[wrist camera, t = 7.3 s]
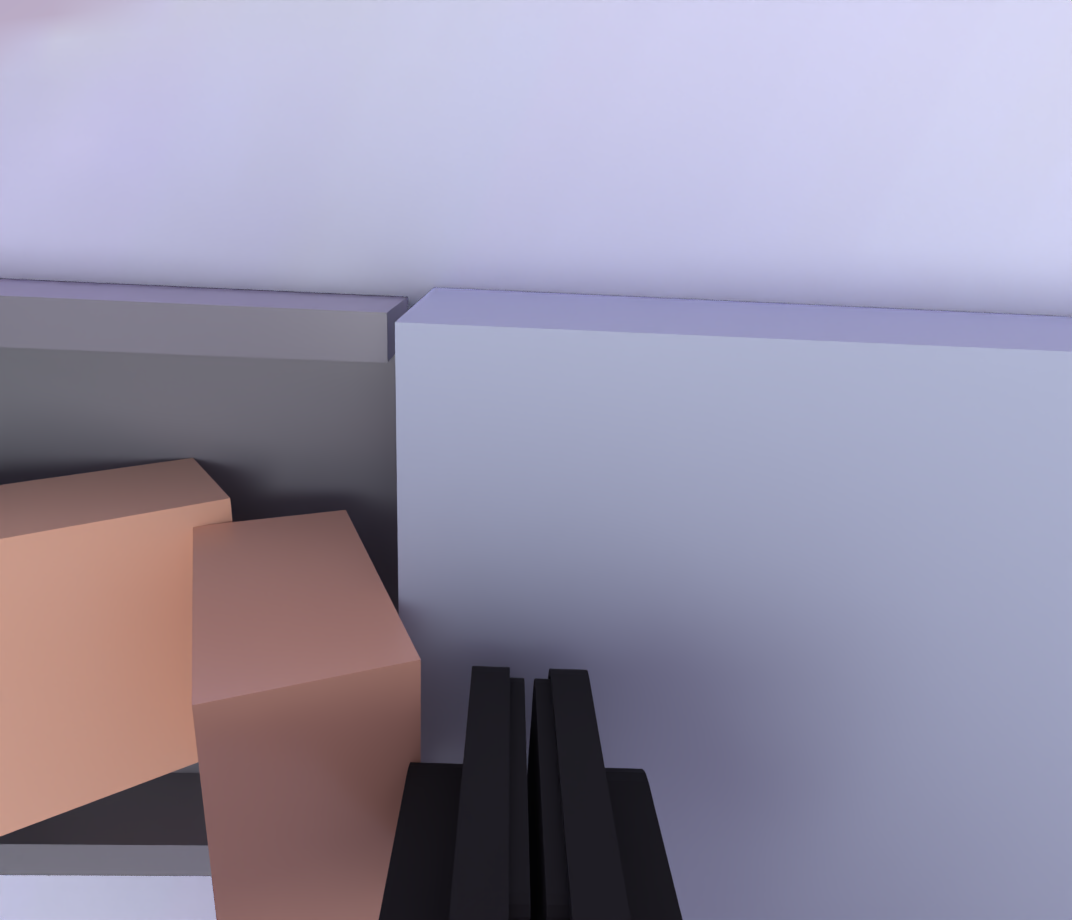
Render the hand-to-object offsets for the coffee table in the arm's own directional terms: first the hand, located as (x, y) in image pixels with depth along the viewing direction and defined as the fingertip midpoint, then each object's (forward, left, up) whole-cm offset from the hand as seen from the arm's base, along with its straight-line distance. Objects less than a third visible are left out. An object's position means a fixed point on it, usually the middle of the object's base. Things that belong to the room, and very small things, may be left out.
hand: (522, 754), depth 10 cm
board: (-6, 0, -6) cm, 8 cm away
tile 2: (+7, 0, -2) cm, 7 cm away
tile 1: (+2, 0, -1) cm, 3 cm away
